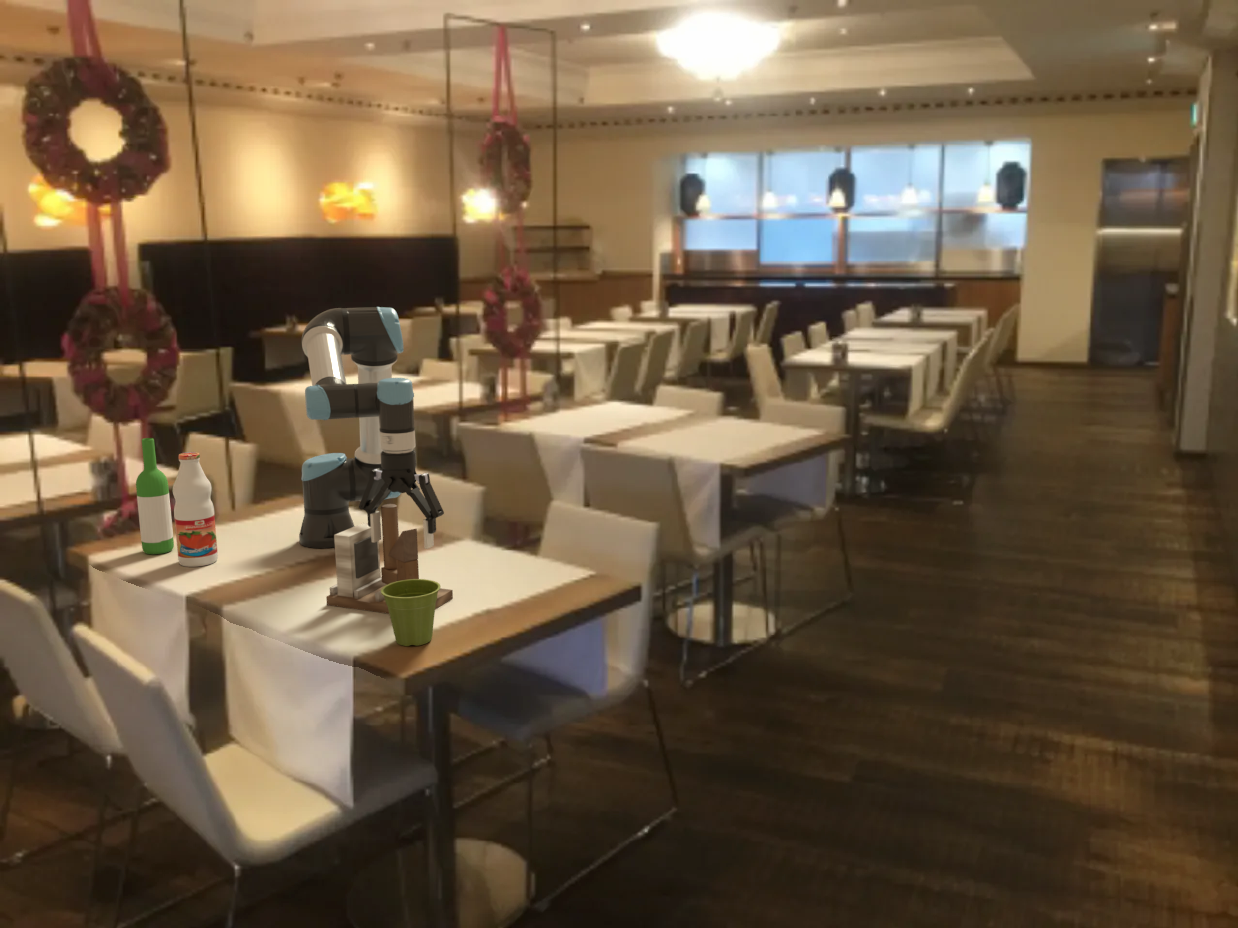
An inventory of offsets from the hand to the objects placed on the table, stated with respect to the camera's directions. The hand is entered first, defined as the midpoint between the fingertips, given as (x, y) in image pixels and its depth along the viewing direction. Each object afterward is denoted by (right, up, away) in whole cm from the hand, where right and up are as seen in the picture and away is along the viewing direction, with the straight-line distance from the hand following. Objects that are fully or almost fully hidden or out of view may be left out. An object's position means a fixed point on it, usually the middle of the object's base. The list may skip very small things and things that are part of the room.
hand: (402, 544), depth 240 cm
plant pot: (+6, -18, -20) cm, 28 cm away
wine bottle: (-73, -5, +45) cm, 86 cm away
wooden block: (-1, -10, +2) cm, 10 cm away
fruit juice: (-59, -7, +35) cm, 69 cm away
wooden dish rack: (-4, -13, +4) cm, 14 cm away
